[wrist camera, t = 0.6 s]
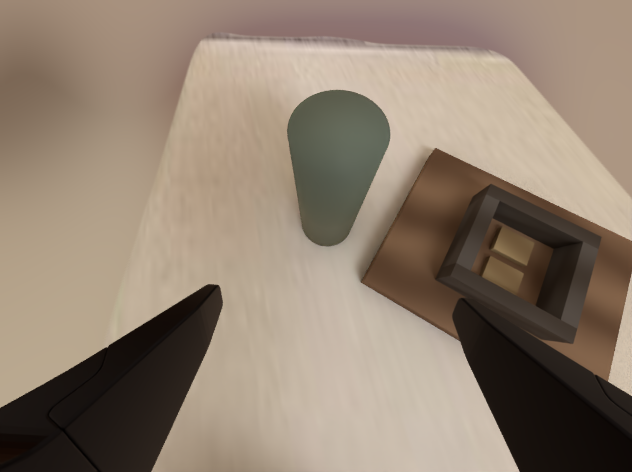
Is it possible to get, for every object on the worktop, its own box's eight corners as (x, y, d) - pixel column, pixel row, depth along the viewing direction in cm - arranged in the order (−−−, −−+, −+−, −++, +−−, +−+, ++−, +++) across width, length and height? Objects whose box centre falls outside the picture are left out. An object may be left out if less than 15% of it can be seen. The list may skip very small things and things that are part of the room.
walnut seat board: (578, 411, 19) (643, 437, 15) (360, 282, 22) (370, 276, 18) (617, 247, 23) (677, 236, 19) (428, 156, 26) (448, 130, 22)
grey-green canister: (359, 235, 24) (408, 154, 11) (313, 253, 23) (310, 190, 11) (339, 193, 25) (362, 78, 12) (294, 209, 24) (273, 107, 12)
